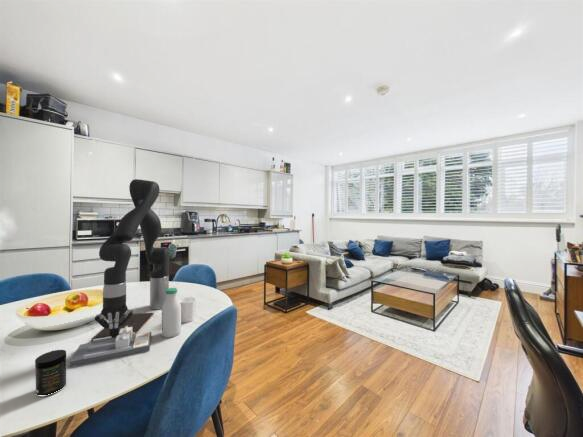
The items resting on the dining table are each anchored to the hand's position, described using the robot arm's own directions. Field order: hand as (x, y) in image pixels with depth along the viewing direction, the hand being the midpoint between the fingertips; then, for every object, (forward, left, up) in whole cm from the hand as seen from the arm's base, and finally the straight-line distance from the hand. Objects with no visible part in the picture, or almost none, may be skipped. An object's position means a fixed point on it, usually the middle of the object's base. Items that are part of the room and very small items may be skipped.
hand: (114, 336), depth 97 cm
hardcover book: (-17, +2, -5) cm, 17 cm away
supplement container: (+20, -12, -4) cm, 24 cm away
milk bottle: (-2, +21, -4) cm, 21 cm away
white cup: (-14, +28, -4) cm, 31 cm away
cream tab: (0, +4, -2) cm, 4 cm away
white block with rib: (+6, +4, -2) cm, 7 cm away
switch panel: (+3, +1, -4) cm, 5 cm away
